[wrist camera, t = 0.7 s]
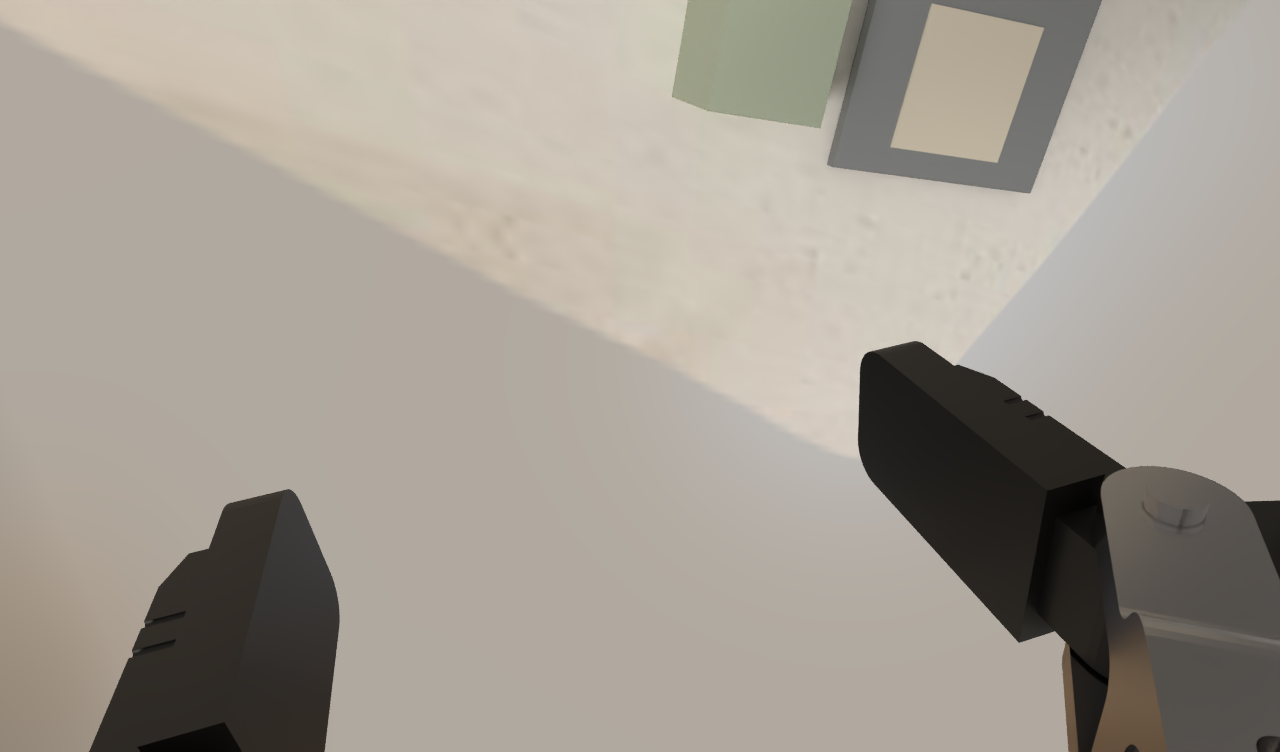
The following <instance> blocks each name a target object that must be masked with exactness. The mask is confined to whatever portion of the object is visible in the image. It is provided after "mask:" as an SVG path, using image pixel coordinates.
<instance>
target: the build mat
mask: <svg viewBox="0 0 1280 752" xmlns="http://www.w3.org/2000/svg"><path fill="white" fill-rule="evenodd" d="M1101 1H1102V0H869V4H868V8H867V12H866V16H865V20H864V23H863V27H862V31H861V35H860V39H859V43H858V47H857V51H856V55H855V58H854V62H853V66H852V70H851V74H850V78H849V82H848V86H847V89H846V93H845V97H844V101H843V105H842V109H841V113H840V117H839V121H838V124H837V128H836V132H835V136H834V140H833V144H832V148H831V152H830V155H829V159H828V163H827V165H829V166H832V167H837V168H844V169H851V170H859V171H866V172H874V173H881V174H889V175H896V176H903V177H911V178H918V179H926V180H933V181H941V182H948V183H955V184H963V185H970V186H978V187H985V188H993V189H1000V190H1008V191H1015V192H1022V193H1031V190H1032V187H1033V184H1034V182H1035V179H1036V176H1037V174H1038V171H1039V168H1040V166H1041V163H1042V160H1043V157H1044V155H1045V152H1046V149H1047V147H1048V144H1049V141H1050V139H1051V136H1052V133H1053V130H1054V128H1055V125H1056V122H1057V120H1058V117H1059V114H1060V112H1061V109H1062V106H1063V103H1064V101H1065V98H1066V95H1067V93H1068V90H1069V87H1070V85H1071V82H1072V79H1073V77H1074V74H1075V71H1076V68H1077V66H1078V63H1079V60H1080V58H1081V55H1082V52H1083V50H1084V47H1085V44H1086V41H1087V39H1088V36H1089V33H1090V31H1091V28H1092V25H1093V23H1094V20H1095V17H1096V14H1097V12H1098V9H1099V6H1100V4H1101Z"/></svg>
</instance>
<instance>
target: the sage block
mask: <svg viewBox="0 0 1280 752" xmlns="http://www.w3.org/2000/svg"><path fill="white" fill-rule="evenodd" d="M851 4H852V0H688V5H687V10H686V16H685V22H684V28H683V34H682V40H681V46H680V51H679V57H678V63H677V69H676V75H675V81H674V87H673V92H672V97H674V98H676V99H679V100H681V101H684V102H686V103H689V104H691V105H694V106H696V107H699V108H701V109H704V110H707V111H711V112H717V113H724V114H730V115H737V116H743V117H750V118H756V119H763V120H769V121H776V122H783V123H789V124H796V125H802V126H809V127H815V128H821V124H822V120H823V116H824V112H825V108H826V104H827V100H828V96H829V92H830V88H831V84H832V80H833V76H834V72H835V68H836V64H837V60H838V56H839V52H840V48H841V44H842V40H843V36H844V32H845V28H846V24H847V20H848V16H849V12H850V8H851Z"/></svg>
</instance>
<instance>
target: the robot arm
mask: <svg viewBox="0 0 1280 752" xmlns="http://www.w3.org/2000/svg"><path fill="white" fill-rule="evenodd" d="M858 446H859V452H860V457H861V460H862V463H863V466H864V468H865V470H866V472H867V474H868V476H869V477H870V479H871V480H872V482H873V483H874V484H875V485H876V486H877V487H878V488H879V489H880V491H881V492H882V493H883V494H884V495H885V496H886V497H887V498H888V499H889V501H890V502H891V503H892V504H893V505H894V506H895V507H896V508H897V509H898V510H899V511H900V513H901V514H902V515H903V516H904V517H905V518H906V519H907V520H908V521H909V523H910V524H911V525H912V526H913V527H914V528H915V529H916V530H917V531H918V532H919V533H920V534H921V536H922V537H923V538H924V539H925V540H926V541H927V542H928V543H929V544H930V545H931V547H932V548H933V549H934V550H935V551H936V552H937V553H938V554H939V555H940V556H941V558H942V559H943V560H944V561H945V562H946V563H947V564H948V565H949V566H950V568H951V569H952V570H953V571H954V572H955V573H956V574H957V575H958V576H959V577H960V579H961V580H962V581H963V582H964V583H965V584H966V585H967V586H968V587H969V588H970V589H971V591H972V592H973V593H974V594H975V595H976V596H977V597H978V598H979V599H980V600H981V601H982V603H983V604H984V605H985V606H986V607H987V608H988V609H989V610H990V611H991V613H992V614H993V615H994V616H995V617H996V618H997V619H998V620H999V621H1000V622H1001V624H1002V625H1004V627H1005V628H1006V629H1007V630H1008V631H1009V632H1010V633H1011V634H1012V636H1013V637H1014V638H1015V639H1016V640H1017V641H1018V642H1023V641H1026V640H1029V639H1032V638H1035V637H1038V636H1042V635H1045V634H1048V633H1050V632H1054V631H1055V632H1056V633H1057V634H1058V635H1059V636H1060V637H1061V638H1062V639H1063V640H1064V641H1065V642H1066V644H1065V648H1064V652H1063V657H1062V670H1063V683H1064V697H1065V710H1066V724H1067V736H1068V750H1069V752H1280V501H1252V502H1244V501H1243V500H1242V499H1241V498H1240V497H1239V496H1237V495H1236V494H1235V493H1233V492H1232V491H1230V490H1229V489H1227V488H1226V487H1224V486H1222V485H1220V484H1218V483H1216V482H1215V481H1212V480H1210V479H1208V478H1205V477H1203V476H1200V475H1197V474H1194V473H1191V472H1187V471H1183V470H1179V469H1173V468H1167V467H1157V466H1139V467H1131V468H1125V467H1123V466H1122V465H1120V464H1119V463H1118V462H1116V461H1115V460H1113V459H1111V458H1110V457H1109V456H1107V455H1106V454H1104V453H1103V452H1102V451H1100V450H1099V449H1097V448H1096V447H1094V446H1093V445H1091V444H1090V443H1088V442H1087V441H1085V440H1084V439H1083V438H1081V437H1080V436H1078V435H1076V434H1075V433H1074V432H1072V431H1071V430H1070V429H1068V428H1067V427H1065V426H1064V425H1062V424H1061V423H1059V422H1058V421H1056V420H1055V419H1053V418H1052V417H1051V416H1044V413H1043V411H1042V410H1040V409H1039V408H1038V407H1036V406H1035V405H1033V404H1032V403H1030V402H1029V401H1027V400H1024V401H1022V399H1021V396H1020V395H1019V394H1017V393H1016V392H1014V391H1013V390H1011V389H1010V388H1008V387H1007V386H1006V385H1004V384H1003V383H1001V382H1000V381H998V380H997V379H995V378H994V377H991V376H988V375H985V374H982V373H979V372H977V371H974V370H971V369H968V368H966V367H963V366H960V365H956V366H954V365H952V364H951V363H950V362H948V361H947V360H945V359H944V358H943V357H941V356H940V355H938V354H937V353H936V352H934V351H933V350H931V349H930V348H929V347H927V346H926V345H924V344H923V343H921V342H918V341H913V342H909V343H904V344H900V345H896V346H892V347H888V348H884V349H879V350H875V351H871V352H868V353H866V354H865V355H864V357H863V359H862V362H861V367H860V394H859V427H858ZM144 622H145V628H142V629H141V631H140V633H139V635H138V637H137V640H136V642H135V644H134V647H133V649H132V652H133V657H132V658H129V659H128V661H127V664H126V666H125V668H124V671H123V673H122V675H121V678H120V680H119V682H118V685H117V688H116V689H115V692H114V694H113V697H112V699H111V701H110V704H109V706H108V708H107V711H106V713H105V716H104V718H103V720H102V723H101V725H100V728H99V730H98V732H97V735H96V737H95V739H94V742H93V744H92V746H91V749H90V751H89V752H324V750H325V743H326V734H327V726H328V717H329V709H330V700H331V691H332V683H333V674H334V666H335V658H336V649H337V641H338V631H339V604H338V598H337V592H336V588H335V585H334V581H333V578H332V576H331V573H330V571H329V568H328V566H327V564H326V561H325V559H324V557H323V555H322V552H321V550H320V547H319V545H318V543H317V540H316V538H315V536H314V533H313V531H312V528H311V526H310V524H309V521H308V519H307V517H306V514H305V512H304V510H303V507H302V505H301V503H300V501H299V499H298V497H297V496H296V494H295V493H294V492H293V491H292V490H289V489H288V490H283V491H279V492H275V493H271V494H266V495H262V496H258V497H254V498H250V499H246V500H242V501H237V502H233V503H229V504H227V505H226V506H225V507H224V509H223V511H222V514H221V517H220V519H219V522H218V525H217V528H216V530H215V534H214V536H213V539H212V542H211V544H210V547H209V549H206V550H202V551H198V552H194V553H190V554H188V555H187V556H186V557H185V559H184V560H183V561H182V562H181V563H180V564H179V565H178V566H177V567H176V569H175V570H174V571H173V572H172V573H171V574H170V575H169V577H168V578H167V579H166V580H165V581H164V582H163V583H162V584H161V585H160V586H159V588H158V590H157V592H156V595H155V597H154V599H153V602H152V604H151V607H150V609H149V611H148V614H147V616H146V619H145V621H144Z"/></svg>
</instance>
